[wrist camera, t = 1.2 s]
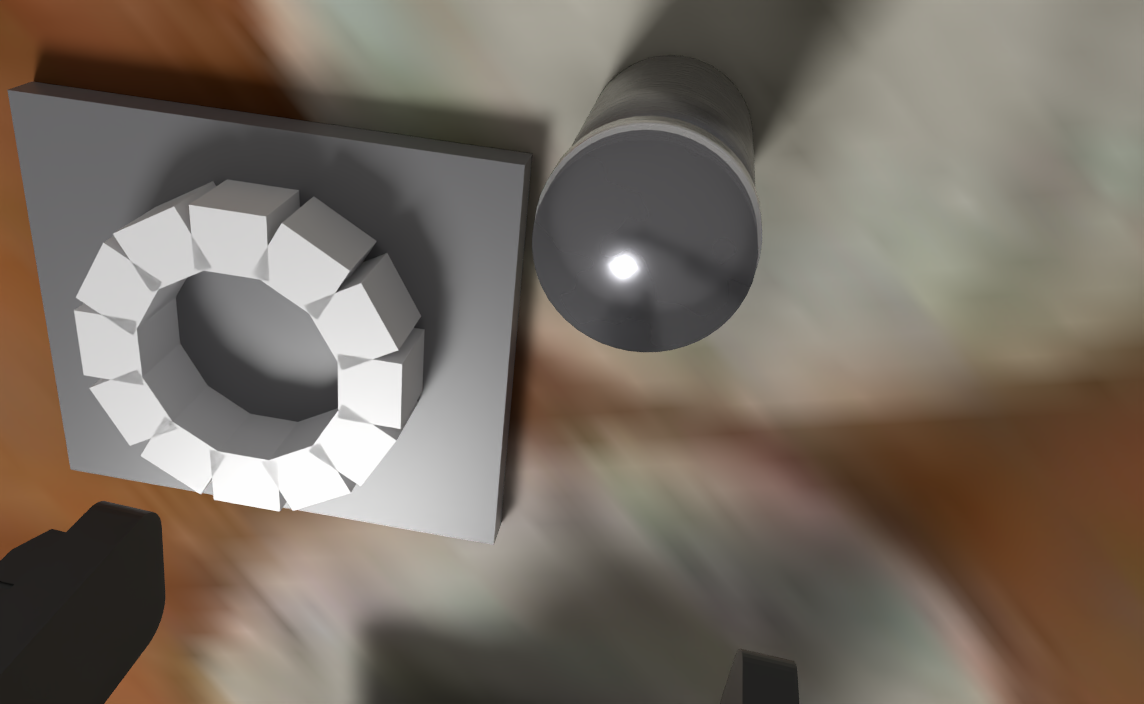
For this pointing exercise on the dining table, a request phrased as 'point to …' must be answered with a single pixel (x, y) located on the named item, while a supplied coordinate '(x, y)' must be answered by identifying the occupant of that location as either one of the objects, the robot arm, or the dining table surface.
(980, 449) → the dining table surface
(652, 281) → the lens
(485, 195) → the mount
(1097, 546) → the dining table surface
